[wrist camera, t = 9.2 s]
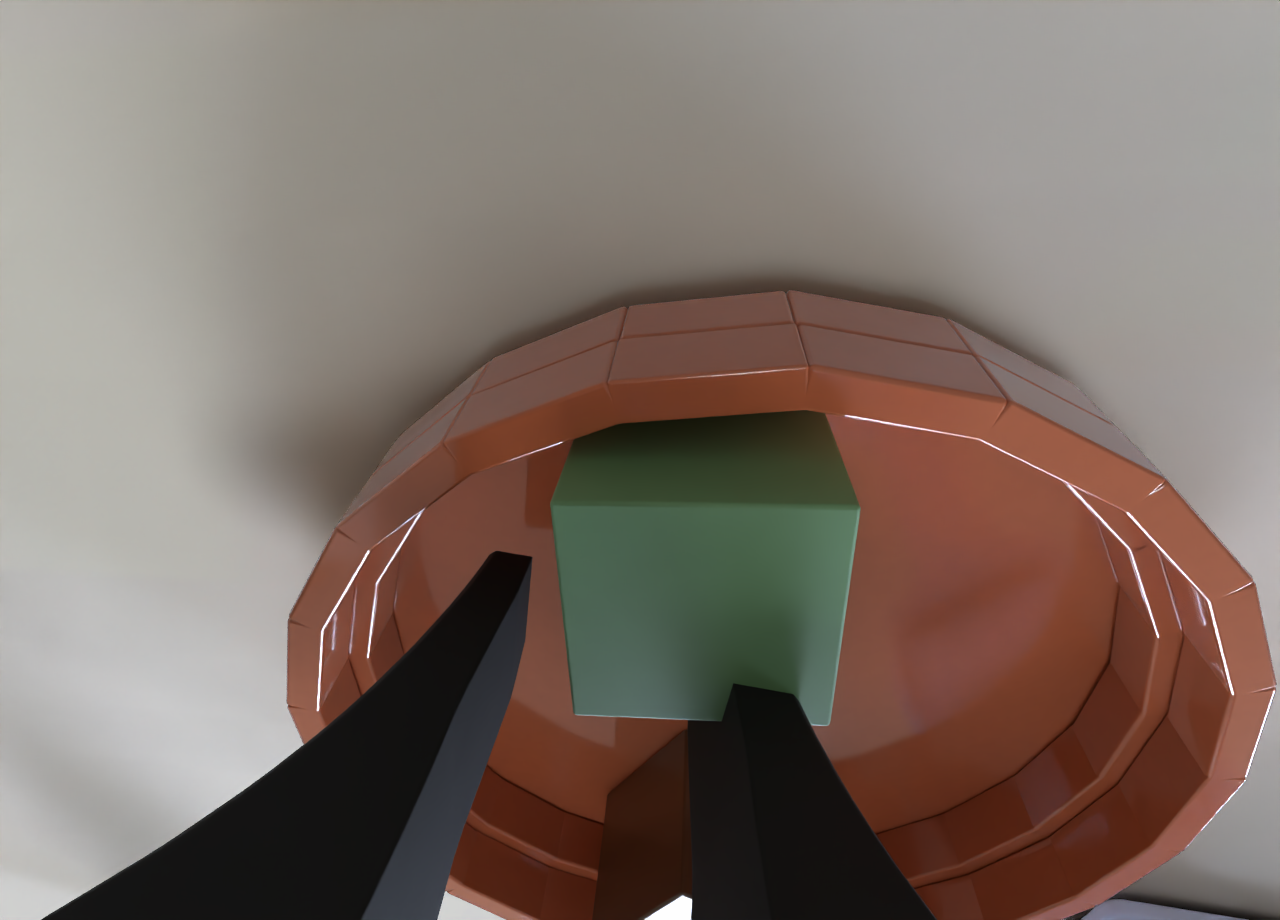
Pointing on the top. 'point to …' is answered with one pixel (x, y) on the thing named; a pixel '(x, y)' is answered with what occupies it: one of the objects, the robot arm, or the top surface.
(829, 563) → the sage-green cube
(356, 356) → the top surface
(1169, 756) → the bowl
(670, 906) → the walnut cube
